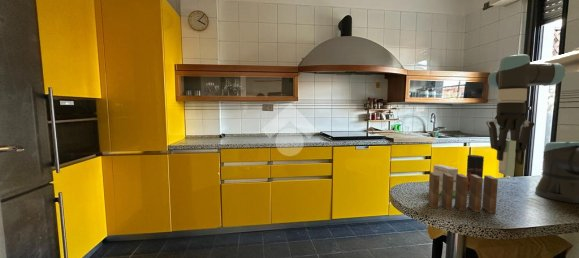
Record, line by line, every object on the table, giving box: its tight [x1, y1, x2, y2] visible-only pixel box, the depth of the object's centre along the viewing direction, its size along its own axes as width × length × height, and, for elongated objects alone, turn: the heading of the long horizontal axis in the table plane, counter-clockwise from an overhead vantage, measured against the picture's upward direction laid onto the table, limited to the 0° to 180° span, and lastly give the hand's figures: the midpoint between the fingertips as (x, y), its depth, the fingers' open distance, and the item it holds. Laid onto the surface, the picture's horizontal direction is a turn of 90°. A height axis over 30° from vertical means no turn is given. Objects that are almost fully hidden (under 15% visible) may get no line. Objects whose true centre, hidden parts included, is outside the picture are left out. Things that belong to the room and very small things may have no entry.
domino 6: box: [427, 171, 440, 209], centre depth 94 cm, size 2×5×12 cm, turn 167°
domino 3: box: [467, 174, 484, 213], centre depth 91 cm, size 2×5×12 cm, turn 167°
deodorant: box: [465, 154, 485, 190], centre depth 116 cm, size 6×6×15 cm
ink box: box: [432, 164, 459, 198], centre depth 108 cm, size 9×5×12 cm, turn 12°
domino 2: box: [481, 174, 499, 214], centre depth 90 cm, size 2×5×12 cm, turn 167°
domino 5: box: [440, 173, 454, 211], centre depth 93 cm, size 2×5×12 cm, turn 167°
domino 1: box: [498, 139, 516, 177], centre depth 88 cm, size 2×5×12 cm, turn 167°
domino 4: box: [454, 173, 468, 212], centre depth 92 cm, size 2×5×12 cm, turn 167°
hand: (506, 170), depth 88 cm, fingers closed on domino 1, 2 cm apart
